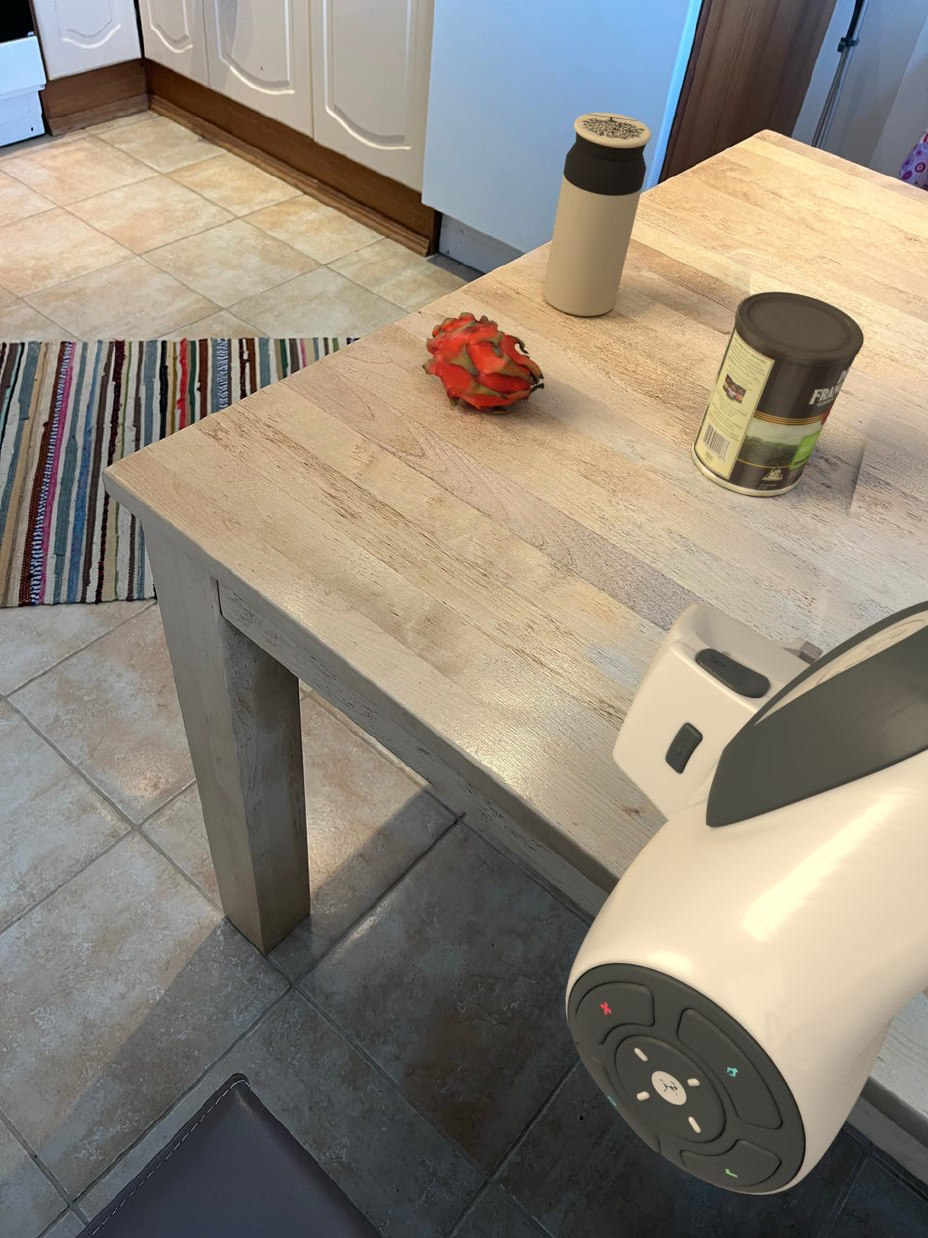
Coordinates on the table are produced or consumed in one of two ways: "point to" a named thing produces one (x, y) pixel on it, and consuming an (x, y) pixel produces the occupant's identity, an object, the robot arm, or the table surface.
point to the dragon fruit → (481, 364)
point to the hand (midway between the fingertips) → (888, 704)
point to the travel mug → (596, 213)
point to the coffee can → (774, 391)
